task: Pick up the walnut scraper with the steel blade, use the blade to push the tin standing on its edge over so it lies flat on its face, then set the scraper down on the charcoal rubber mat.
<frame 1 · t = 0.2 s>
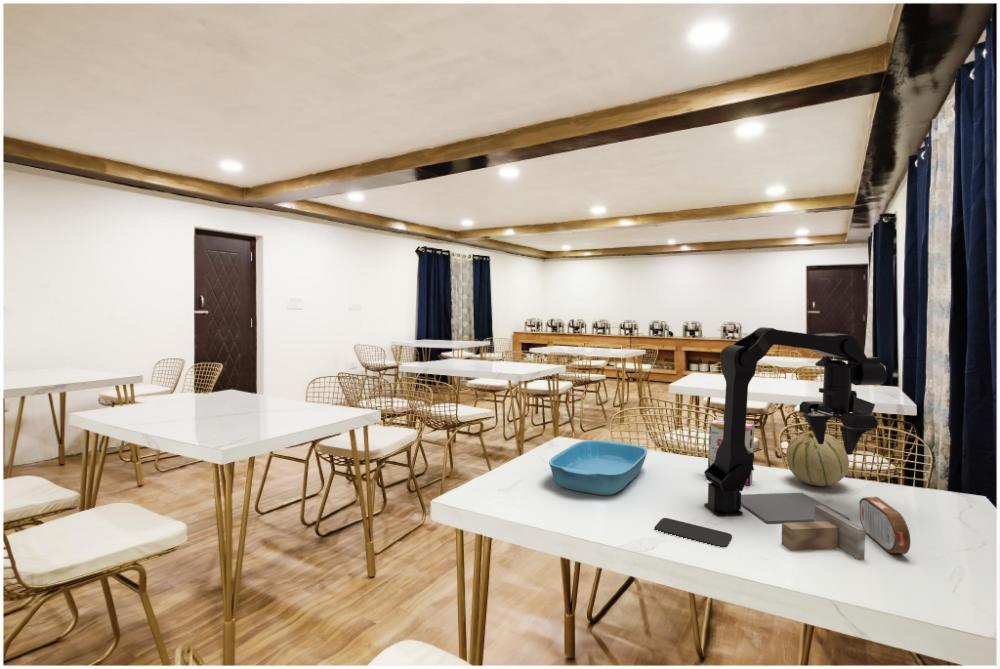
hand: (834, 449, 124), 14 cm above the table, tool pointing down, fingers open, 9 cm apart
scraper: (809, 546, 105), on the table
candy bar box: (729, 481, 144), on the table
casserole dish: (599, 479, 146), on the table
cantaloupe: (815, 485, 141), on the table
tin: (881, 544, 106), on the table
tool mat: (785, 508, 124), on the table
phone: (692, 535, 111), on the table
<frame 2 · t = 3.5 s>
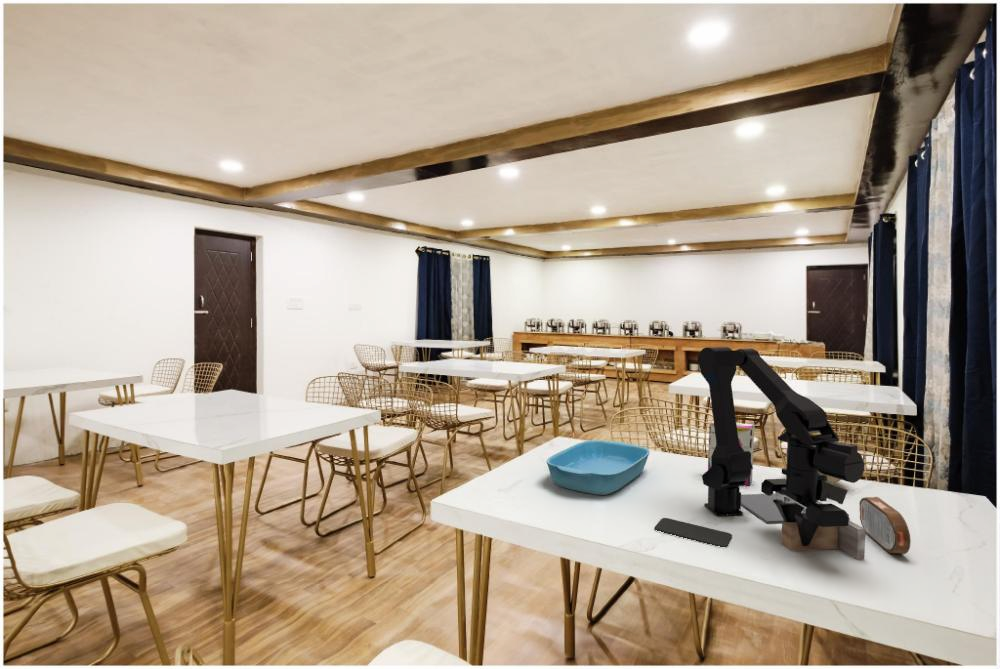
hand: (800, 541, 104), 1 cm above the table, tool pointing down, fingers closed on scraper, 3 cm apart
scraper: (809, 546, 105), on the table, touching gripper
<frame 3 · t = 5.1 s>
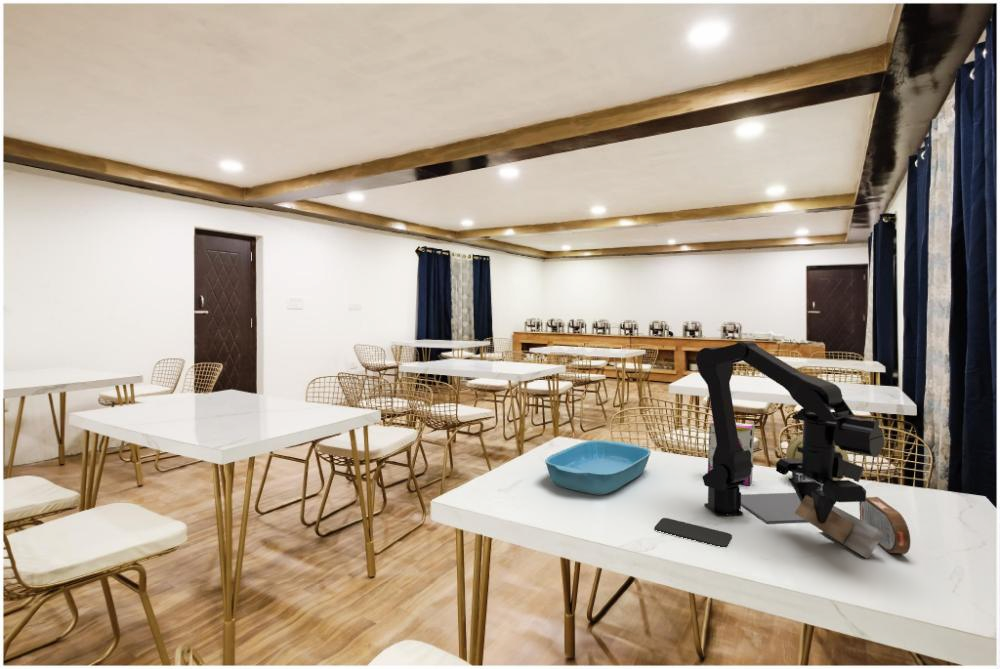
hand: (815, 519, 104), 6 cm above the table, tool pointing down, fingers closed on scraper, 3 cm apart
scraper: (818, 528, 104), point 4 cm above the table, tilted 32°, touching gripper
everything else where it was.
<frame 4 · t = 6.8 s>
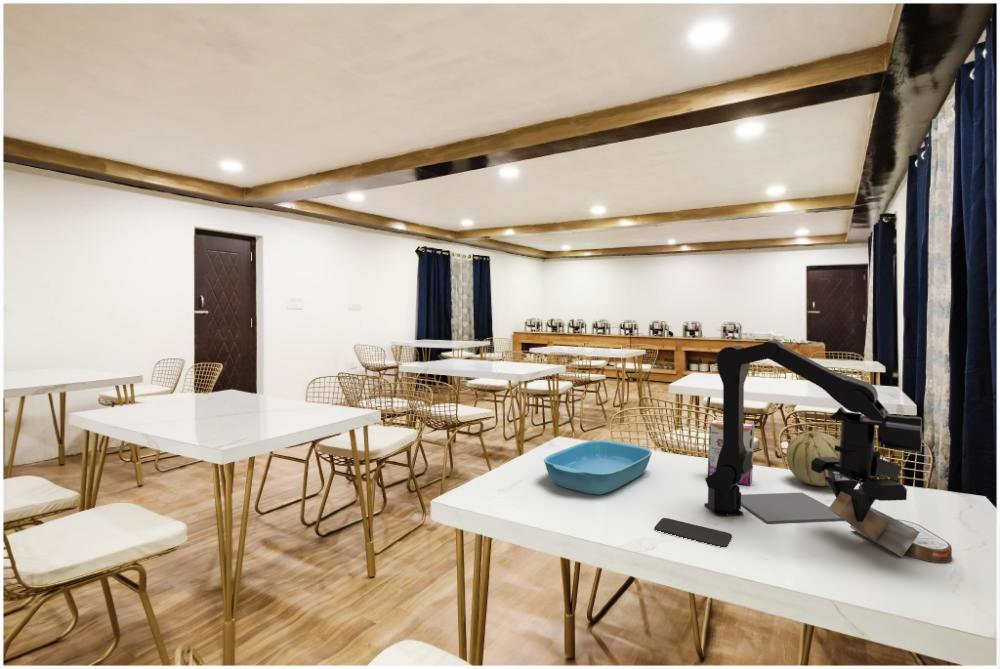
hand: (853, 518, 105), 6 cm above the table, tool pointing down, fingers closed on scraper, 3 cm apart
scraper: (851, 524, 105), point 4 cm above the table, tilted 36°, touching gripper, tin
tin: (890, 536, 106), point 2 cm above the table, touching scraper
when the fingers open (2 cm above the table, at t = 11.5 s): scraper drops 2 cm, resting on tool mat.
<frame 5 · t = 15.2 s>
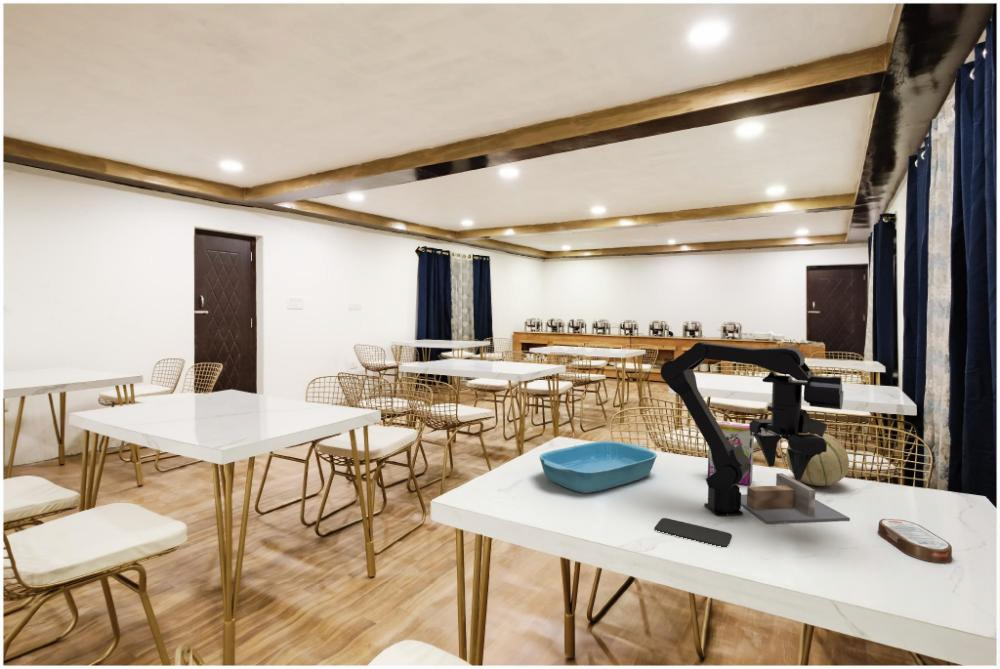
hand: (784, 472, 114), 12 cm above the table, tool pointing down, fingers open, 9 cm apart
scraper: (769, 506, 124), point 1 cm above the table, touching tool mat
tin: (890, 536, 106), point 2 cm above the table
at the end: tin tilted 94°; scraper inside the target area on the tool mat (4.2 cm from its centre), point 0.6 cm above the tool mat's base; the gripper is holding nothing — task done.
